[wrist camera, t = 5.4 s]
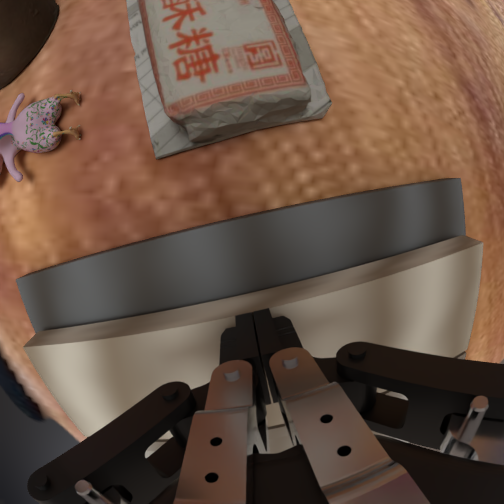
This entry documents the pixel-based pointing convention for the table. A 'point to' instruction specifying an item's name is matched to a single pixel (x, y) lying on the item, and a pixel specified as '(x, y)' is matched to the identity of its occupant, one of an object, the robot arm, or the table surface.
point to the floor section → (245, 259)
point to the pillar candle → (23, 33)
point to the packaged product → (221, 69)
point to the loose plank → (280, 304)
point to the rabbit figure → (32, 129)
